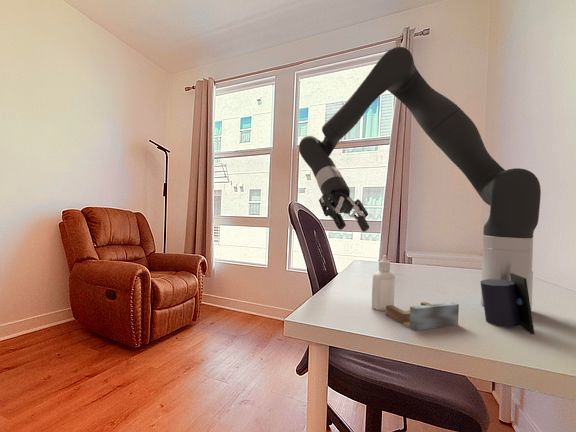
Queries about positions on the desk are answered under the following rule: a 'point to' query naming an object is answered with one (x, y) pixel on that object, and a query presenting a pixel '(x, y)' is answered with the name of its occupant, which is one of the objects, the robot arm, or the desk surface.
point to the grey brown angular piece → (425, 315)
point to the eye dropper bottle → (383, 286)
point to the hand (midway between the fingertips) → (354, 228)
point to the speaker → (507, 302)
